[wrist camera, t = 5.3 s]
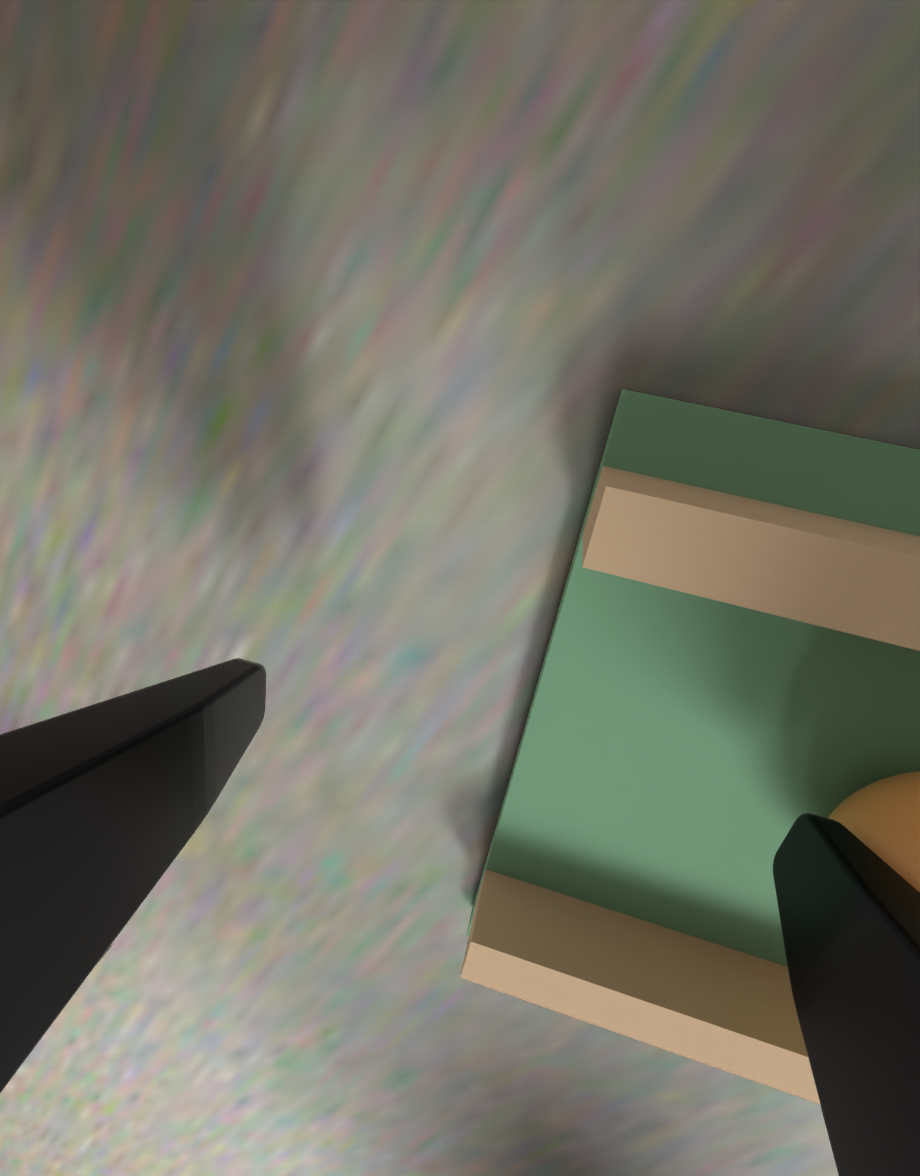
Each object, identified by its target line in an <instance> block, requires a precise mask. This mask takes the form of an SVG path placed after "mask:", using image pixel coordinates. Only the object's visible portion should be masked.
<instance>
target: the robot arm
mask: <svg viewBox="0 0 920 1176" xmlns="http://www.w3.org/2000/svg"><path fill="white" fill-rule="evenodd" d="M265 697H266V671H265V668H264V667H263V666H262V665H261V664H259V663H255V662H251V661H248V660H244V659H233V660H230V661H227V662H223V663H220V664H217V665H214V666H211V667H208V668H205V669H202V670H199V671H196V672H193V673H190V674H186V675H183V676H180V677H177V678H174V679H171V680H168V681H165V682H162V683H159V684H156V685H152V686H149V687H146V688H143V689H140V690H137V691H134V692H131V693H128V694H125V695H122V696H118V697H115V698H112V699H109V700H106V701H103V702H100V703H97V704H94V705H91V706H87V707H84V708H81V709H78V710H75V711H72V712H69V713H66V714H63V715H60V716H57V717H53V718H50V719H47V720H44V721H41V722H38V723H35V724H32V725H29V726H26V727H23V728H19V729H16V730H13V731H10V732H7V733H4V734H1V735H0V1093H1V1092H2V1090H3V1089H4V1088H5V1086H6V1085H7V1084H8V1082H9V1081H10V1080H11V1078H12V1077H13V1076H14V1074H15V1073H16V1072H17V1070H18V1069H19V1068H20V1066H21V1065H22V1063H23V1062H24V1061H25V1059H26V1058H27V1057H28V1055H29V1054H30V1053H31V1051H32V1050H33V1049H34V1047H35V1046H36V1045H37V1043H38V1042H39V1041H40V1039H41V1038H42V1037H43V1035H44V1034H45V1033H46V1031H47V1030H48V1029H49V1027H50V1026H51V1024H52V1023H53V1022H54V1020H55V1019H56V1018H57V1016H58V1015H59V1014H60V1012H61V1011H62V1010H63V1008H64V1007H65V1006H66V1004H67V1003H68V1002H69V1000H70V999H71V998H72V996H73V995H74V994H75V992H76V991H77V990H78V988H79V987H80V985H81V984H82V983H83V981H84V980H85V979H86V977H87V976H88V975H89V973H90V972H91V971H92V969H93V968H94V967H95V965H96V964H97V963H98V961H99V960H100V959H101V957H102V956H103V955H104V953H105V952H106V951H107V949H108V948H109V947H110V945H111V944H112V942H113V941H114V940H115V938H116V937H117V936H118V934H119V933H120V932H121V930H122V929H123V928H124V926H125V925H126V924H127V922H128V921H129V920H130V918H131V917H132V916H133V914H134V913H135V912H136V910H137V909H138V908H139V906H140V905H141V903H142V902H143V901H144V899H145V898H146V897H147V895H148V894H149V893H150V891H151V890H152V889H153V887H154V886H155V885H156V883H157V882H158V881H159V879H160V878H161V877H162V875H163V874H164V873H165V871H166V870H167V869H168V867H169V866H170V864H171V863H172V862H173V860H174V859H175V858H176V856H177V855H178V854H179V852H180V851H181V850H182V848H183V847H184V846H185V844H186V843H187V842H188V840H189V839H190V838H191V836H192V835H193V834H194V832H195V831H196V829H197V828H198V827H199V825H200V824H201V822H202V821H203V820H204V818H205V817H206V815H207V814H208V812H209V811H210V809H211V807H212V806H213V804H214V803H215V801H216V799H217V798H218V796H219V794H220V793H221V791H222V789H223V788H224V786H225V784H226V783H227V781H228V779H229V778H230V776H231V774H232V772H233V771H234V769H235V767H236V766H237V764H238V762H239V761H240V759H241V757H242V756H243V754H244V752H245V751H246V749H247V747H248V746H249V744H250V742H251V740H252V739H253V737H254V735H255V734H256V732H257V730H258V729H259V727H260V725H261V723H262V720H263V717H264V713H265ZM773 877H774V884H775V890H776V897H777V903H778V909H779V916H780V922H781V928H782V935H783V941H784V948H785V954H786V960H787V967H788V973H789V978H790V984H791V989H792V994H793V999H794V1003H795V1007H796V1011H797V1016H798V1020H799V1024H800V1027H801V1031H802V1035H803V1039H804V1043H805V1047H806V1051H807V1054H808V1058H809V1062H810V1066H811V1070H812V1074H813V1078H814V1081H815V1085H816V1089H817V1093H818V1097H819V1101H820V1105H821V1108H822V1112H823V1116H824V1120H825V1124H826V1128H827V1132H828V1135H829V1139H830V1143H831V1147H832V1151H833V1155H834V1159H835V1162H836V1166H837V1170H838V1174H839V1176H920V892H919V891H918V890H917V889H915V888H914V887H913V886H912V885H911V884H910V883H909V882H907V881H906V880H905V879H904V878H903V877H902V876H901V875H899V874H898V873H897V872H896V871H895V870H894V869H893V868H891V867H890V866H889V865H888V864H887V863H886V862H885V861H883V860H882V859H881V858H880V857H879V856H878V855H877V854H875V853H874V852H873V851H872V850H871V849H870V848H869V847H867V846H866V845H865V844H864V843H863V842H862V841H861V840H859V839H858V838H857V837H856V836H855V835H854V834H853V833H851V832H850V831H849V830H848V829H847V828H846V827H845V826H843V825H842V824H841V823H839V822H838V821H835V820H833V819H829V818H825V817H822V816H818V815H814V814H811V813H804V814H801V815H800V816H798V818H797V819H796V820H795V822H794V823H793V825H792V827H791V828H790V830H789V832H788V833H787V835H786V837H785V838H784V840H783V842H782V843H781V845H780V847H779V848H778V850H777V852H776V854H775V857H774V860H773Z"/></svg>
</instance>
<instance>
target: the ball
mask: <svg viewBox="0 0 920 1176" xmlns="http://www.w3.org/2000/svg"><path fill="white" fill-rule="evenodd" d="M828 818H829V819H833V820H835V821H838V822H839V823H841V824H842V825H843V826H845V827H846V828H847V829H848V830H849V831H850V832H851V833H853V834H854V835H855V836H856V837H857V838H858V839H859V840H861V841H862V842H863V843H864V844H865V845H866V846H867V847H869V848H870V849H871V850H872V851H873V852H874V853H875V854H877V855H878V856H879V857H880V858H881V859H882V860H883V861H885V862H886V863H887V864H888V865H889V866H890V867H891V868H893V869H894V870H895V871H896V872H897V873H898V874H899V875H901V876H902V877H903V878H904V879H905V880H906V881H907V882H909V883H910V884H911V885H912V886H913V887H914V888H915V889H917V890H918V891H919V892H920V771H917V772H910V773H902V774H898V775H894V776H891V777H888V778H884V779H881V780H878V781H876V782H873V783H871V784H869V785H867V786H865V787H863V788H862V789H860V790H858V791H856V792H855V793H853V794H852V795H850V796H849V797H848V798H846V799H845V800H844V801H843V802H842V803H841V804H840V805H838V806H837V808H836V809H835V810H834V811H833V812H832V813H831V815H830V816H829V817H828Z"/></svg>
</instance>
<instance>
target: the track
mask: <svg viewBox="0 0 920 1176" xmlns="http://www.w3.org/2000/svg"><path fill="white" fill-rule="evenodd" d="M917 771H920V450H918V449H913V448H908V447H903V446H898V445H894V444H889V443H884V442H879V441H874V440H869V439H864V438H859V437H855V436H850V435H845V434H840V433H835V432H830V431H825V430H820V429H816V428H811V427H806V426H801V425H796V424H791V423H786V422H781V421H777V420H772V419H767V418H762V417H757V416H752V415H747V414H742V413H738V412H733V411H728V410H723V409H718V408H713V407H708V406H704V405H699V404H694V403H689V402H684V401H679V400H674V399H669V398H665V397H660V396H655V395H650V394H645V393H640V392H635V391H630V390H626V389H622V390H621V394H620V397H619V401H618V404H617V408H616V411H615V415H614V418H613V422H612V425H611V428H610V432H609V435H608V439H607V442H606V446H605V449H604V453H603V456H602V460H601V463H600V467H599V470H598V474H597V477H596V481H595V484H594V488H593V491H592V495H591V498H590V501H589V505H588V508H587V512H586V515H585V519H584V522H583V526H582V529H581V533H580V536H579V540H578V543H577V547H576V550H575V554H574V557H573V561H572V564H571V568H570V571H569V574H568V578H567V581H566V585H565V588H564V592H563V595H562V599H561V602H560V606H559V609H558V613H557V616H556V620H555V623H554V627H553V630H552V634H551V637H550V641H549V644H548V647H547V651H546V654H545V658H544V661H543V665H542V668H541V672H540V675H539V679H538V682H537V686H536V689H535V693H534V696H533V700H532V703H531V707H530V710H529V714H528V717H527V720H526V724H525V727H524V731H523V734H522V738H521V741H520V745H519V748H518V752H517V755H516V759H515V762H514V766H513V769H512V773H511V776H510V780H509V783H508V787H507V790H506V793H505V797H504V800H503V804H502V807H501V811H500V814H499V818H498V821H497V825H496V828H495V832H494V835H493V839H492V842H491V846H490V849H489V853H488V856H487V859H486V863H485V866H484V870H483V873H482V877H481V880H480V884H479V887H478V891H477V894H476V898H475V901H474V905H473V908H472V912H471V917H470V922H469V926H468V931H467V936H469V939H468V943H467V948H466V953H465V958H464V963H463V967H462V972H461V977H460V978H463V979H465V980H468V981H471V982H474V983H477V984H480V985H483V986H485V987H488V988H491V989H494V990H497V991H500V992H502V993H505V994H508V995H511V996H514V997H517V998H519V999H522V1000H525V1001H528V1002H531V1003H534V1004H536V1005H539V1006H542V1007H545V1008H548V1009H551V1010H554V1011H556V1012H559V1013H562V1014H565V1015H568V1016H571V1017H573V1018H576V1019H579V1020H582V1021H585V1022H588V1023H590V1024H593V1025H596V1026H599V1027H602V1028H605V1029H607V1030H610V1031H613V1032H616V1033H619V1034H622V1035H625V1036H627V1037H630V1038H633V1039H636V1040H639V1041H642V1042H644V1043H647V1044H650V1045H653V1046H656V1047H659V1048H661V1049H664V1050H667V1051H670V1052H673V1053H676V1054H678V1055H681V1056H684V1057H687V1058H690V1059H693V1060H696V1061H698V1062H701V1063H704V1064H707V1065H710V1066H713V1067H715V1068H718V1069H721V1070H724V1071H727V1072H730V1073H732V1074H735V1075H738V1076H741V1077H744V1078H747V1079H749V1080H752V1081H755V1082H758V1083H761V1084H764V1085H767V1086H769V1087H772V1088H775V1089H778V1090H781V1091H784V1092H786V1093H789V1094H792V1095H795V1096H798V1097H801V1098H803V1099H806V1100H809V1101H812V1102H815V1103H818V1104H820V1101H819V1097H818V1093H817V1089H816V1085H815V1081H814V1078H813V1074H812V1070H811V1066H810V1062H809V1058H808V1054H807V1051H806V1047H805V1043H804V1039H803V1035H802V1031H801V1027H800V1024H799V1020H798V1016H797V1011H796V1007H795V1003H794V999H793V994H792V989H791V984H790V978H789V973H788V967H787V960H786V954H785V948H784V941H783V935H782V928H781V922H780V916H779V909H778V903H777V897H776V890H775V884H774V877H773V860H774V857H775V854H776V852H777V850H778V848H779V847H780V845H781V843H782V842H783V840H784V838H785V837H786V835H787V833H788V832H789V830H790V828H791V827H792V825H793V823H794V822H795V820H796V819H797V818H798V816H800V815H801V814H804V813H811V814H814V815H818V816H822V817H825V818H828V817H829V816H830V815H831V813H832V812H833V811H834V810H835V809H836V808H837V806H838V805H840V804H841V803H842V802H843V801H844V800H845V799H846V798H848V797H849V796H850V795H852V794H853V793H855V792H856V791H858V790H860V789H862V788H863V787H865V786H867V785H869V784H871V783H873V782H876V781H878V780H881V779H884V778H888V777H891V776H894V775H898V774H902V773H910V772H917Z"/></svg>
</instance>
